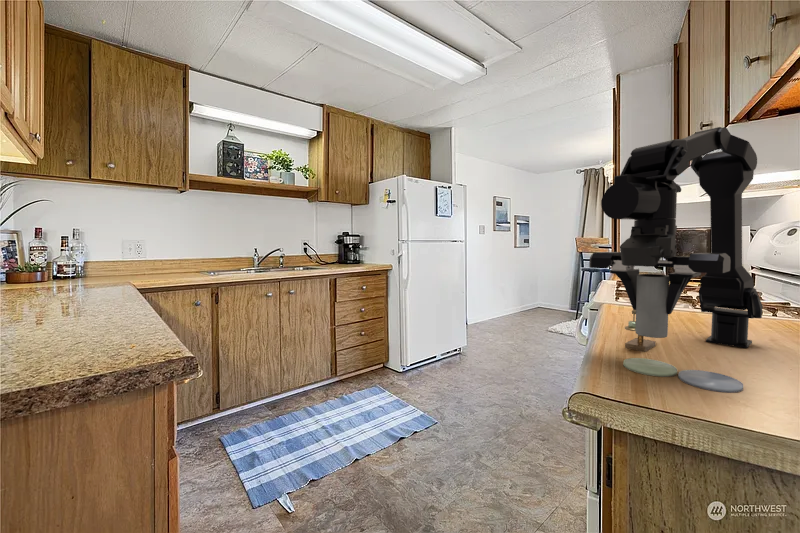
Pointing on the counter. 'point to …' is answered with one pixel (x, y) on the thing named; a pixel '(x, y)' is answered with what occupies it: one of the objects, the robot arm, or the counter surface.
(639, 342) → the balance
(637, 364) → the dish green
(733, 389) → the dish grey
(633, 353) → the counter surface
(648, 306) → the planter
